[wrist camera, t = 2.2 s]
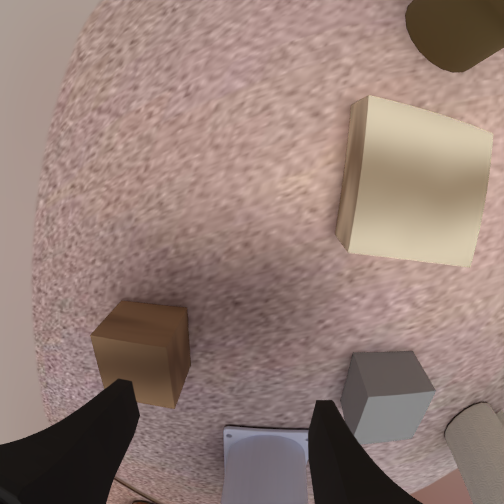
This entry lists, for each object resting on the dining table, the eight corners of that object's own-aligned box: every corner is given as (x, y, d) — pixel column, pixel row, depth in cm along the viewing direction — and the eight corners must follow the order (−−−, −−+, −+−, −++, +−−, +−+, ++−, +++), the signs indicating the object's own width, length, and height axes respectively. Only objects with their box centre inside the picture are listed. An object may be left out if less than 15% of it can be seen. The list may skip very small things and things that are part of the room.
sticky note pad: (440, 247, 19) (470, 267, 16) (334, 233, 20) (348, 252, 16) (459, 133, 17) (493, 133, 13) (349, 105, 17) (368, 95, 13)
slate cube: (394, 396, 23) (411, 438, 18) (340, 400, 23) (350, 445, 19) (412, 350, 22) (435, 390, 17) (352, 351, 22) (368, 396, 17)
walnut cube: (190, 364, 23) (174, 408, 18) (131, 355, 23) (106, 395, 19) (187, 307, 22) (166, 347, 17) (122, 299, 22) (90, 335, 17)
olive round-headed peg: (392, 34, 15) (484, -42, 5) (421, -18, 13) (499, -91, 3) (463, 90, 16) (582, 69, 5) (485, 34, 14) (585, -2, 3)
